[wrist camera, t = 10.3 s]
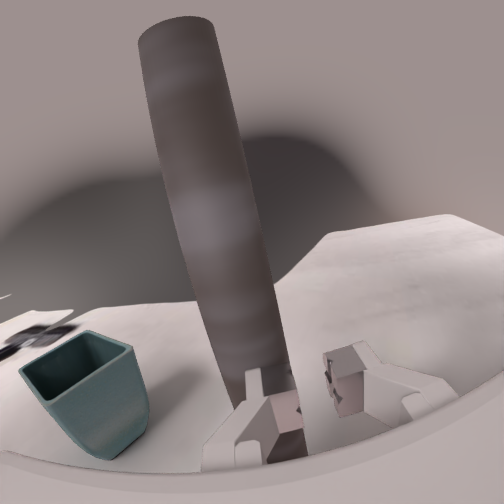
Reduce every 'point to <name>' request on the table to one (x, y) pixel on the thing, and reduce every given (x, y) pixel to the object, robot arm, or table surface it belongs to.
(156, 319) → the table surface
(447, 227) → the table surface
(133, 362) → the flower pot
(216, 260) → the brown board with post
